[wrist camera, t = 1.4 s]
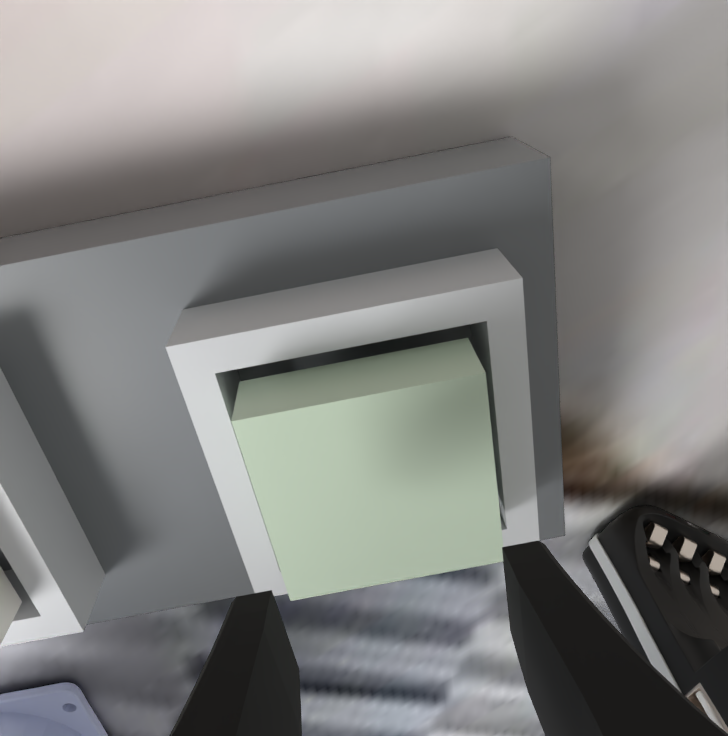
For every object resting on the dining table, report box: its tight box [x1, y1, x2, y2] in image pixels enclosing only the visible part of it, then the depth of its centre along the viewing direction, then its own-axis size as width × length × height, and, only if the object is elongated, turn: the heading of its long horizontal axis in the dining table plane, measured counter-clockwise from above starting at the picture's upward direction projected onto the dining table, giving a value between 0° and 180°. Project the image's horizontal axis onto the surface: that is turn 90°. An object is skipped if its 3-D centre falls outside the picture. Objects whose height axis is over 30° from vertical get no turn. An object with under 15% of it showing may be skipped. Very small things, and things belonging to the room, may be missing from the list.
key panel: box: [0, 137, 565, 647], centre depth 17 cm, size 11×22×5 cm, turn 100°
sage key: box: [231, 338, 503, 601], centre depth 14 cm, size 5×5×2 cm
